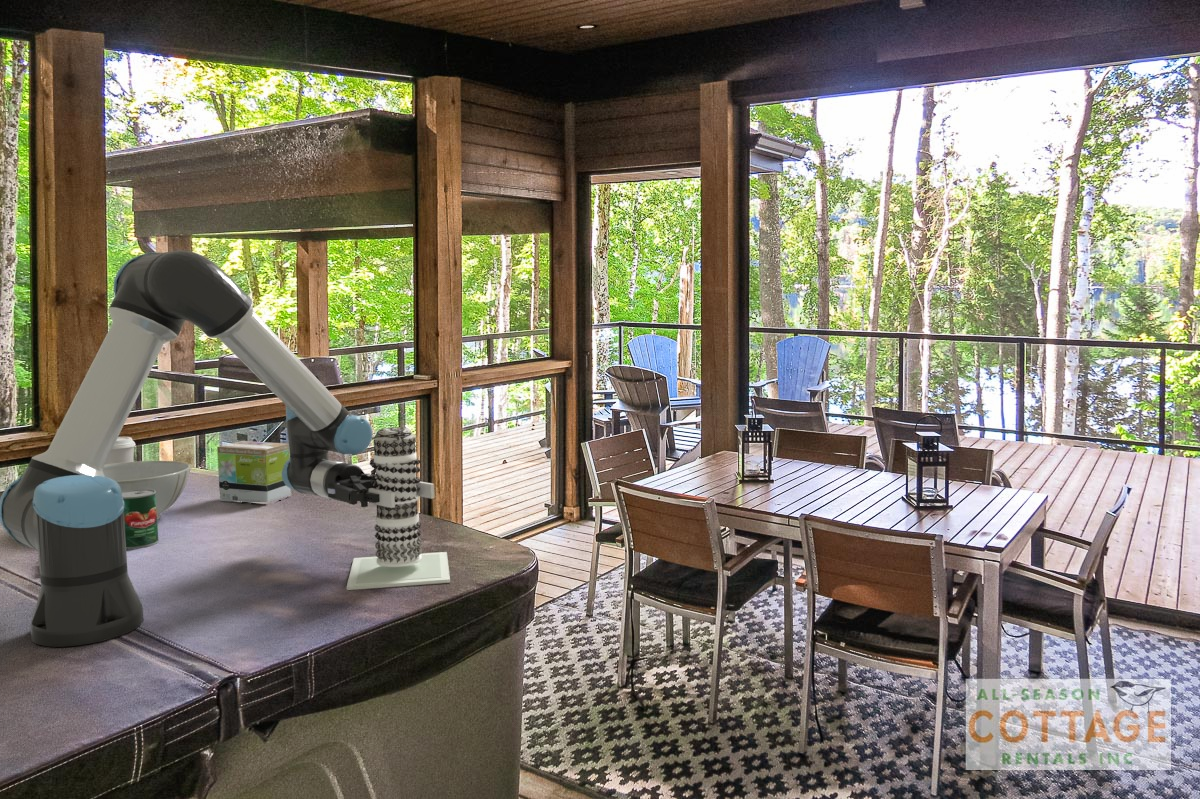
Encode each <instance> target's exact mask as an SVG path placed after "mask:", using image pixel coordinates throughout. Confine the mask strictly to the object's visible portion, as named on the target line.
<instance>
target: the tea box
mask: <svg viewBox="0 0 1200 799" xmlns="http://www.w3.org/2000/svg"><path fill="white" fill-rule="evenodd" d="M216 448H217V450H216V451H217V453H216V454H217V466H218V467H217V468H218V486H219V489H218V490H219V500H220V502H231V501H240V502H239V503H242V502H270V501H273V500H276V499H280V498H283V497H287V496H292V489H290V488H289V487H287V486H286V485H285V483H284V481H283V479H282V470H283V467H284V464H285V462H286V461H287V460H288V459H290V449H289V443H284V442H283V443H281V442H270V441H269V442H268V441H267V442H266V441H250V440H249V441H248V440H240V441H237V442H234V443H233V442H232V443H229V444H224V445H221V446H217V447H216ZM241 501H242V502H241Z"/></svg>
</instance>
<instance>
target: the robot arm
mask: <svg viewBox="0 0 1200 799" xmlns="http://www.w3.org/2000/svg"><path fill="white" fill-rule="evenodd" d="M113 293H114V298H113V300H112V301H111V304H110V306H109V307H108V309H107V311H108V313H109V316H110V318H111V320H112V323H111V325H110V328H109V329H108V331H107V333H106V335H105V337H104V339H103V341H102V343H101V345H100V347H99V349H98V351H97V353H96V354H95V357H94V358H93V360H92V363H90V364H91V365H90V367H89V369H88V370H87V373H86V374H85V376H84V378H83V380H82V383H80V386H79V387H78V389H77V392H76V394H75V396H74V398H73V400H72V402H71V404H70V406H69V408H68V409H67V412H66V413H65V415H64V417H63V419H62V421H61V423H60V424H59V428H58V429H57V432H56V433H55V435H54V437H53V439H52V441H51V443H50V445H49V446H48V448H47V450H46V451H45V452H41V453H40V454H36V455H33V456H32V457H31V459H30V461H29V463H28V464H27V467H26V468H25V470H24V473H23V474H22V476H20V477H19V478H17V479H16V480H15V479H14V480H13V481H12V482H11V483H10V484H9V485H8V486H6V488H5V490H4V491H3V492H2V494H1V496H0V525H1V526H2V528H3V529H4V531H5V532H6V533H7V534H8V535H9V536H10V538H12V539H13V541H15V542H17V543H18V544H20V545H22V546H24V547H28V548H31V549H33V550H36V551H37V553H38V554H37V556H38V568H39V577H40V579H39V580H40V590H39V594H38V597H37V601H36V604H35V608H34V611H33V614H32V618H31V621H30V626H29V627H30V639H31V641H32V643H33V644H36V645H39V646H43V647H52V648H53V647H54V648H56V647H58V648H59V647H60V648H61V647H76V646H84V645H88V644H89V645H90V644H95V643H100V642H103V641H104V642H105V641H107V640H112V639H114V638H117V637H120V636H124V635H126V634H127V633H131V631H134V630H135V629H137V628H138V627H140V626H141V625H142V623H143V622H144V608H143V604H142V601H141V600H140V598H139V596H138V593H137V591H136V589H135V587H134V585H133V582H132V581H131V579H130V577H129V573H128V558H127V557H128V556H127V549H126V538H125V522H124V500H123V497H122V492H121V488H120V486H119V484H118V483H117V482H116V481H114V480H112V479H110V478H107V477H105V476H104V474H103V467H104V465H105V463H106V461H107V458H108V456H109V454H110V452H111V450H112V448H113V446H114V444H115V442H116V440H117V438H118V437H120V434H121V432H122V429H123V427H124V426H125V423H126V422H127V419H128V417H129V415H130V414H131V412H132V409H133V407H134V405H135V404H136V401H137V400H138V399H137V398H138V397H139V395H140V393H141V391H142V389H143V387H144V385H145V383H146V381H147V379H148V377H149V375H150V372H151V370H152V369H153V366H154V365H155V362H156V360H157V359H158V356H159V354H160V352H161V350H162V348H163V346H164V344H166V343H168V342H171V341H175V340H177V339H178V337H179V334H180V332H181V331H182V328H183V326H184V324H185V323H186V321H187V322H189V323H191V325H194V326H196V327H197V328H198V329H200V330H201V332H203V333H204V334H205V335H206V336H207V337H208V338H210V339H219V340H220V341H221V343H222V344H224V345H225V347H227V348H228V350H229V351H230V352H232V354H234V356H236V357H237V358H238V360H240V362H242V363H243V364H244V365H245V367H247V368H248V370H250V371H251V373H253V374H254V375H255V376H256V377H257V378H258V379H259V381H261V382H262V383H263V384H264V386H266V387H267V388H268V389H269V390H270V392H272V393H273V394H274V395H275V396H276V397H277V398H278V399H279V400H280V401H281V402H282V403H283V404H284V405H285V424H286V431H287V432H286V433H287V439H288V444H289V458H290V459H288V460H287V461H286V462H285V464H284V467H283V470H282V479H283V481H284V483H285V485H286V486H287V487H289V488H290V489H291V491H296V492H297V493H300V494H305V495H311V496H318V497H320V498H325V499H326V498H327V499H329V502H333V501H339V502H343V503H347V504H349V505H354V506H355V505H358V502H359V503H360V507H361V508H367V507H368V506H369V505H368V504H372V505H376V506H377V505H380V506H385V507H389V508H394V507H395V494H394V492H390V491H385V490H379V489H375V488H376V487H374V486H373V484H372V483H371V482H372V479H373V477H372V476H371V473H365V472H364V471H363V469H362V468H361V467H360V466H358V465H357V464H352V463H347V462H341V461H338V460H337V461H336V460H330V459H329V452H333V453H339V454H341V455H359V454H361V453H364V452H365V451H366V450H367V449H368V448H369V447H370V444H371V442H372V441H373V439H372V437H373V428H372V426H371V424H370V422H369V421H368V420H367V419H366V418H364V417H361V416H359V415H356V414H352V413H351V412H350V411H348V409H346V407H345V406H344V405H343V404H342V403H341V402H340V401H339V400H338V399H337V398H336V396H334V395H333V394H332V393H331V391H329V389H328V388H327V387H326V386H325V385H324V384H323V383H322V382H321V381H320V379H319V378H317V377H316V376H315V374H313V373H312V371H310V369H309V368H308V367H307V365H305V364H304V363H303V362H302V361H301V360H300V358H298V357H297V356H296V354H295V353H294V352H293V351H292V350H291V349H290V348H289V347H288V346H287V345H286V343H285V342H283V341H282V340H281V338H280V337H279V336H278V335H277V333H275V332H274V331H273V330H272V329H271V328H270V326H268V324H266V322H265V321H264V320H263V319H262V318H261V317H260V316H259V315H258V314H257V313H256V312H255V310H254V302H253V301H254V300H252V299H251V298H250V297H249V296H248V293H246V292H245V291H244V290H243V289H242V288H241V286H239V285H238V284H237V282H235V281H234V280H233V278H232V277H230V276H229V275H228V274H227V273H226V272H225V271H224V270H223V269H222V268H220V267H219V266H218V265H217V264H216V263H214V262H213V261H212V260H210V259H209V258H207V257H205V256H204V255H202V254H200V253H198V252H197V253H196V252H194V251H191V250H190V251H189V250H172V251H165V252H146V253H143V254H140V255H137V256H135V257H132V258H130V259H129V260H127V261H126V262H125V263H123V265H122V266H121V267H119V269H118V271H117V272H116V274H115V276H114V281H113ZM416 478H419V479H420V482H419V483H416V486H419V487H420V488H421V489H420V490H419V491H418V492H417V493H416V494H418V495H419V497H420V498H427V499H431V500H432V499H435V483H432V482H425V481H421V478H420V477H419V476H416Z"/></svg>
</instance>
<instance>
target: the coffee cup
mask: <svg viewBox="0 0 1200 799" xmlns="http://www.w3.org/2000/svg"><path fill="white" fill-rule="evenodd" d="M135 447H136V442H135V441H134V440H133V438H132V437H130V436H118V438H117V440H116V442H115V444H114V446H113V448H112V450H111V452H110V454H109V456H108V458H107V461H106V463H105V464H113V463H122V462H134V455H135V454H134V450H135Z"/></svg>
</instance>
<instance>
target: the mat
mask: <svg viewBox="0 0 1200 799" xmlns="http://www.w3.org/2000/svg"><path fill="white" fill-rule="evenodd" d="M420 555H421V556H422V560H421V561H420V562H418V563H416V564H413V565H408V566H402V567H385V566H380V565H378V564H377V558H378V557H377V556H365V557H353V561H352V565H351V568H350V571H349V572H350V573H349V576H348V580H347V584H346V591H349V590H350V591H353V590H367V589H369V590H370V589H379V588H382V589H383V588H394V587H408V586H420V585H421V586H422V585H438V584H448V583H451V577H450V568H449V560H448V559H449V558H448V552H447V551H443V552H441V551H439V552H425V553H424V552H422V553H421V554H420Z"/></svg>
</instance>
